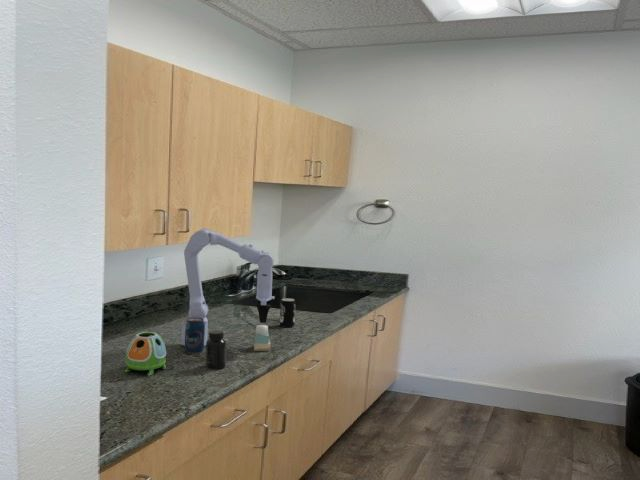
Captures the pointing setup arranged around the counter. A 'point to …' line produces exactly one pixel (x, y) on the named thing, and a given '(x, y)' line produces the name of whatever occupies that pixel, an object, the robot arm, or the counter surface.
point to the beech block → (261, 346)
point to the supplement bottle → (216, 350)
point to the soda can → (194, 335)
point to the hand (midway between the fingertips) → (263, 320)
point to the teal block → (262, 338)
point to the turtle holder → (146, 353)
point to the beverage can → (287, 312)
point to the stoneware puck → (261, 329)
